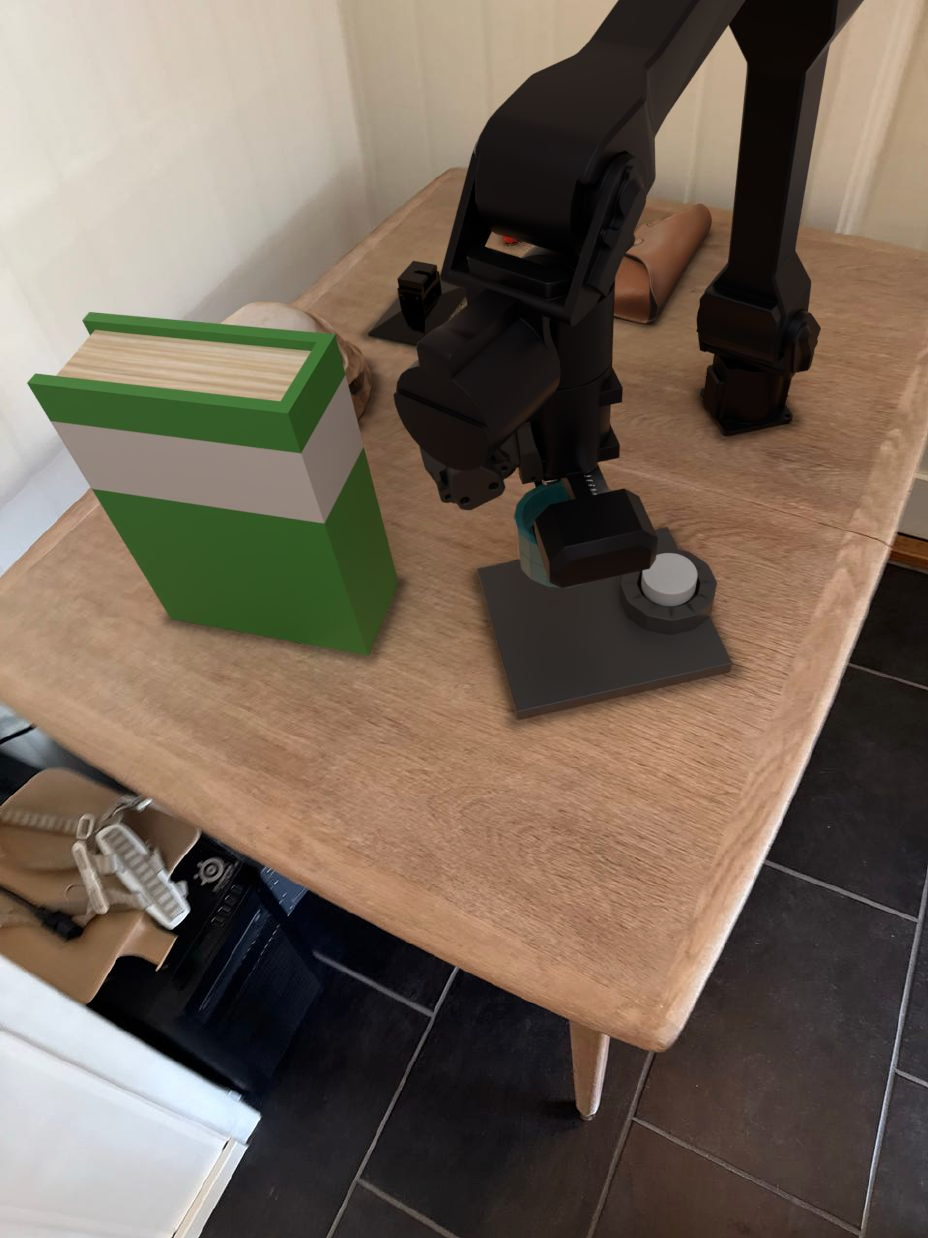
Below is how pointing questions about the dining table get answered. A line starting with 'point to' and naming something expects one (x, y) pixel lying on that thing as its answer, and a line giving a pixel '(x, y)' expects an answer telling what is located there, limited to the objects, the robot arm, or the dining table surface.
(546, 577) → the bowl
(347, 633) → the hardback book
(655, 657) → the dark grey button base
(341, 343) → the coin bank
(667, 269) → the sunglasses case
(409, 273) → the build plate
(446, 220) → the dining table surface
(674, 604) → the button
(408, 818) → the dining table surface
